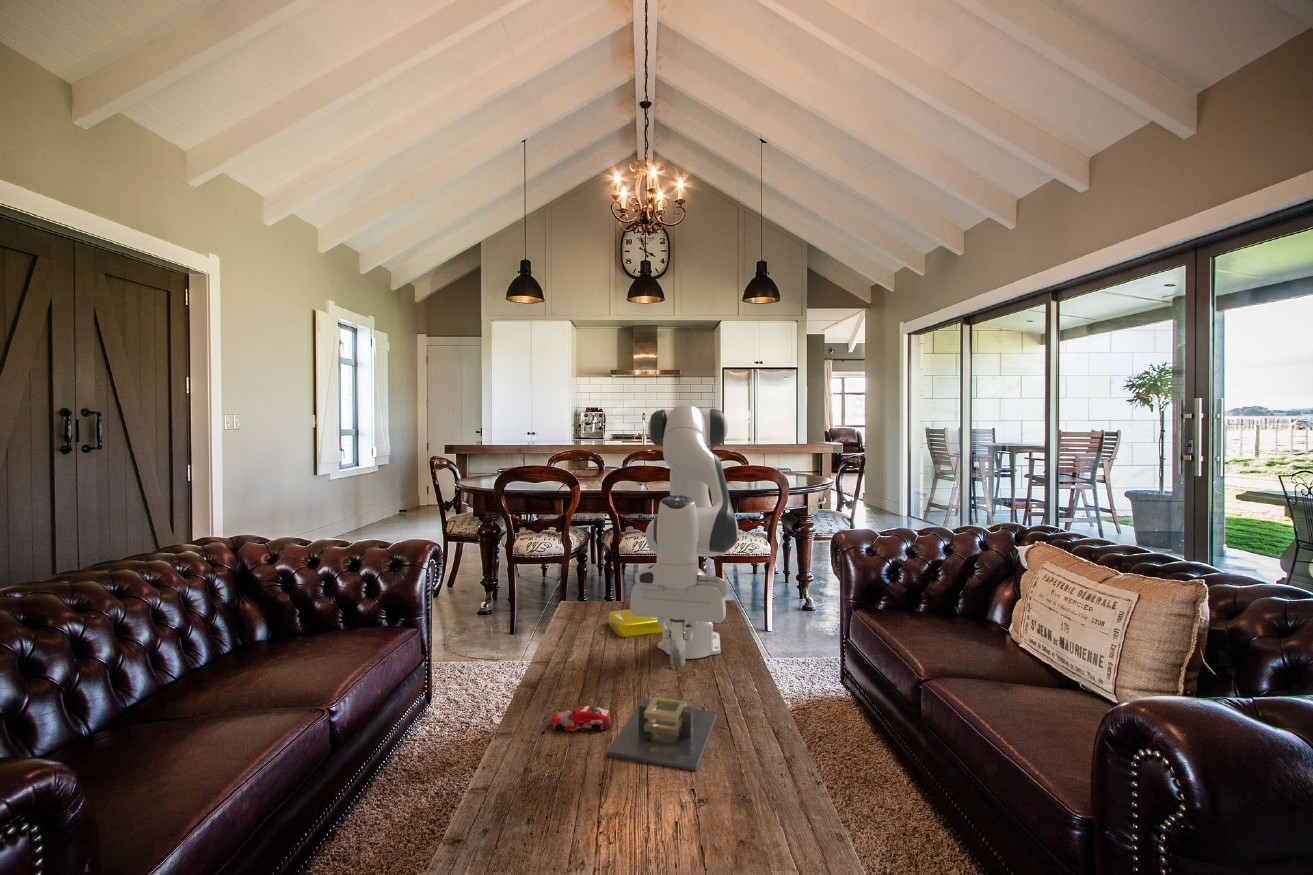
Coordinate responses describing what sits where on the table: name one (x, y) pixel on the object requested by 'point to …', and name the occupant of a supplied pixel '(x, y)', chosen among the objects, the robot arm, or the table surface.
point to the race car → (582, 719)
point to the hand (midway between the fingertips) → (677, 638)
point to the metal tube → (677, 642)
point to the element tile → (632, 624)
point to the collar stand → (665, 734)
